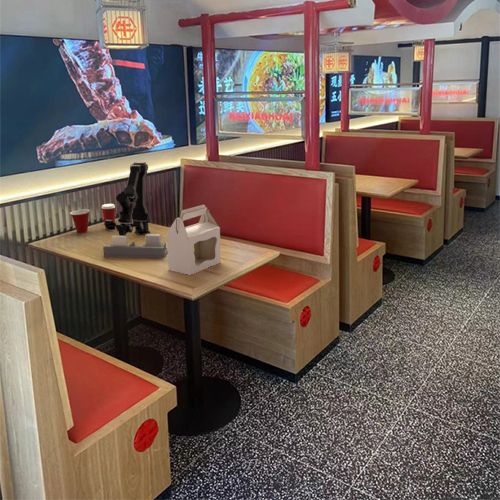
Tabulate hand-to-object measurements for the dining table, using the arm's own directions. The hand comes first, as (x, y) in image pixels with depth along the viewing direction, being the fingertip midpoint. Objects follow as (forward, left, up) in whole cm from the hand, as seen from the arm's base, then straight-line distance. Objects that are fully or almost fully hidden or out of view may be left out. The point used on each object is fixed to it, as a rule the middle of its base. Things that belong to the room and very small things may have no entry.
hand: (121, 240), depth 272 cm
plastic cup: (-1, -51, -7) cm, 51 cm away
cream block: (+2, +2, -5) cm, 6 cm away
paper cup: (-16, -46, -7) cm, 49 cm away
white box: (-12, +10, -5) cm, 17 cm away
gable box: (-16, +41, -7) cm, 45 cm away
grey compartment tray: (-5, +6, -7) cm, 10 cm away
